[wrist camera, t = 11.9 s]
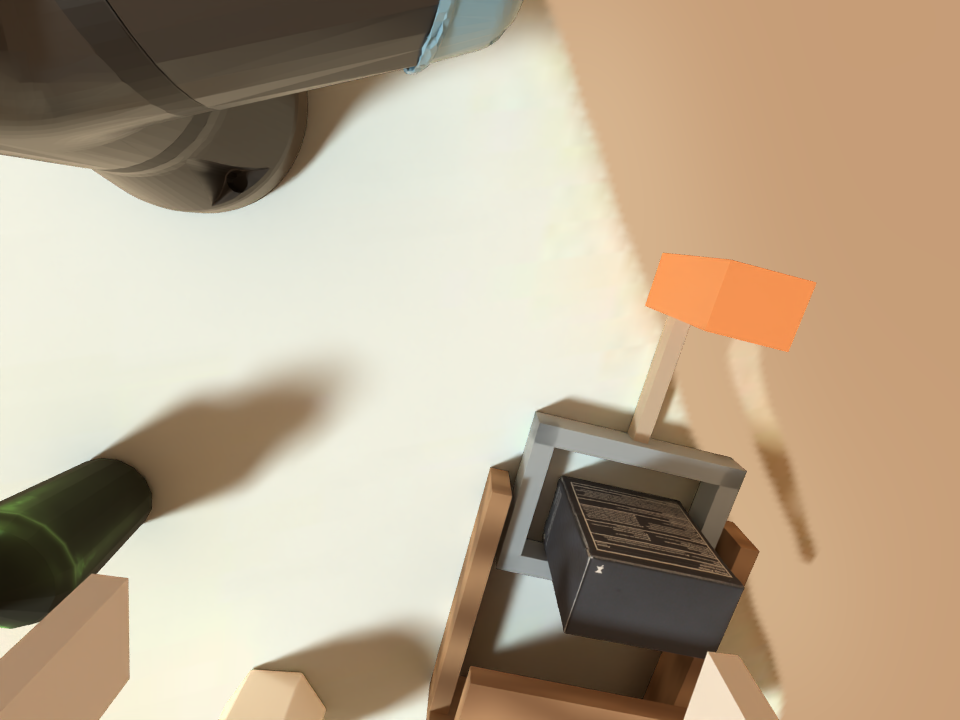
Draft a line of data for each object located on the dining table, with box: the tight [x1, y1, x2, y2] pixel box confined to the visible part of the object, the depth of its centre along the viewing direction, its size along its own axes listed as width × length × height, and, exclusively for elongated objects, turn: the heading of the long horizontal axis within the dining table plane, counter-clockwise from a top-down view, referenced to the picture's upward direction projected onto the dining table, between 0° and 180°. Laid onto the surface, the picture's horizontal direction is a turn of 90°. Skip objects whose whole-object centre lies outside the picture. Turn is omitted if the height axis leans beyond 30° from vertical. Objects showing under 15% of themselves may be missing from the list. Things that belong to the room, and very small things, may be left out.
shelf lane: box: [426, 467, 759, 720], centre depth 37 cm, size 22×21×14 cm
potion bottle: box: [0, 458, 152, 629], centre depth 32 cm, size 8×8×18 cm
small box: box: [542, 476, 744, 659], centre depth 37 cm, size 11×6×10 cm, turn 77°
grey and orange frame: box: [495, 253, 816, 580], centre depth 35 cm, size 27×16×10 cm, turn 166°
